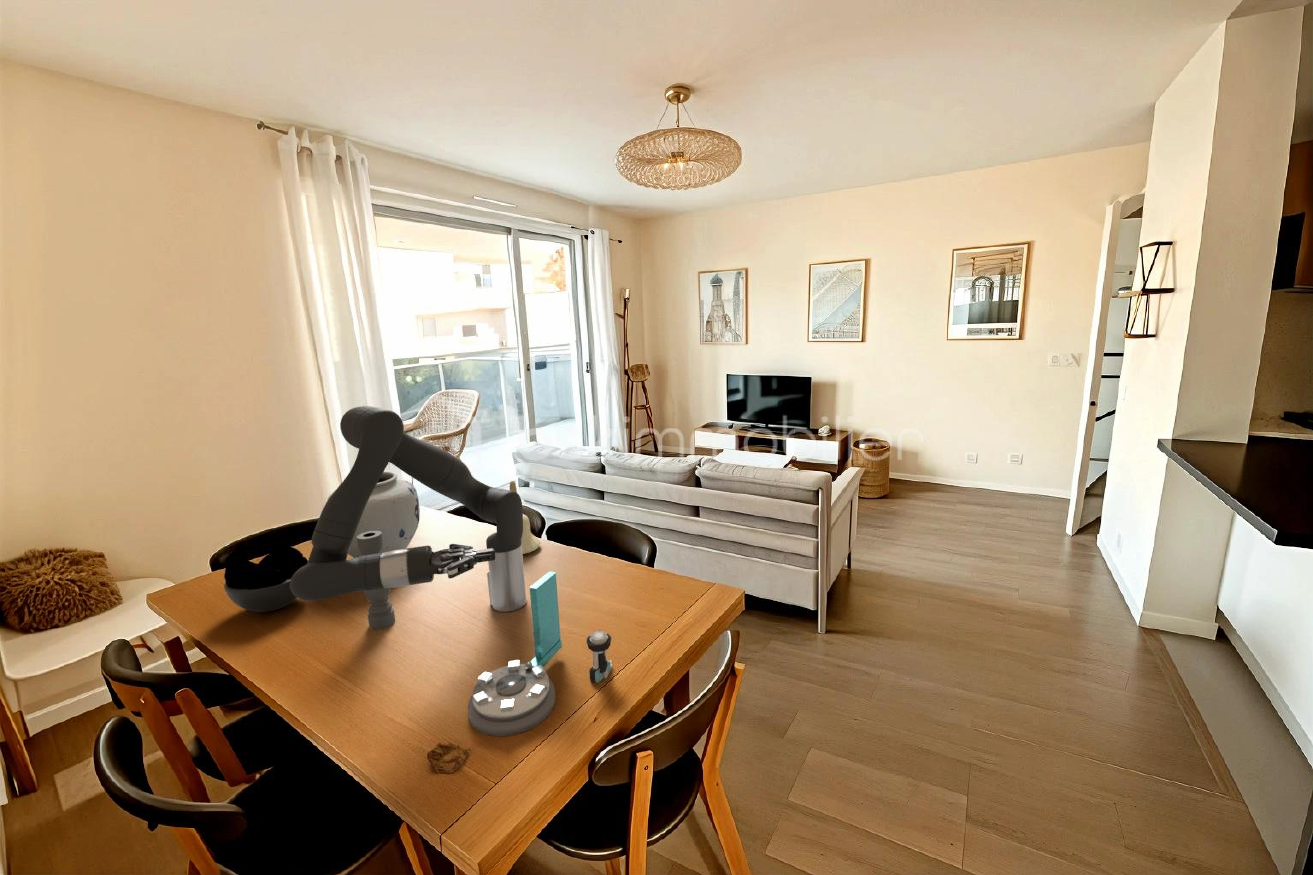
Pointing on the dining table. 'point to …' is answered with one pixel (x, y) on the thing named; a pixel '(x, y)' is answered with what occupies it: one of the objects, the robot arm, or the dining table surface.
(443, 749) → the leaf
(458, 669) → the dining table surface
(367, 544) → the candle holder
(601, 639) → the push button
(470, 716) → the round gray base
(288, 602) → the coal bowl
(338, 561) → the robot arm
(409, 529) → the grey ceramic vase
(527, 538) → the handbell
